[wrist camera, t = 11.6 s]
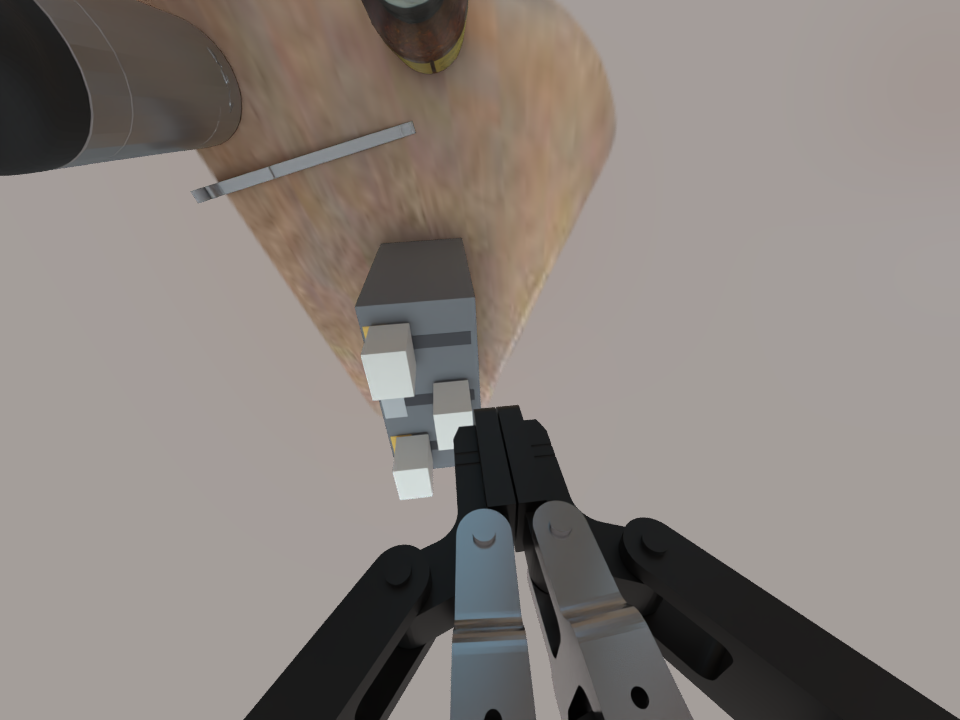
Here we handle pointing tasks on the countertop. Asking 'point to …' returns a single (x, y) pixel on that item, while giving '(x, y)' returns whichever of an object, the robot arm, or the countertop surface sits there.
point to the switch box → (425, 327)
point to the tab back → (413, 467)
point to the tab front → (389, 361)
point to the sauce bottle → (420, 30)
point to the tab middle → (451, 410)
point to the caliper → (302, 162)
